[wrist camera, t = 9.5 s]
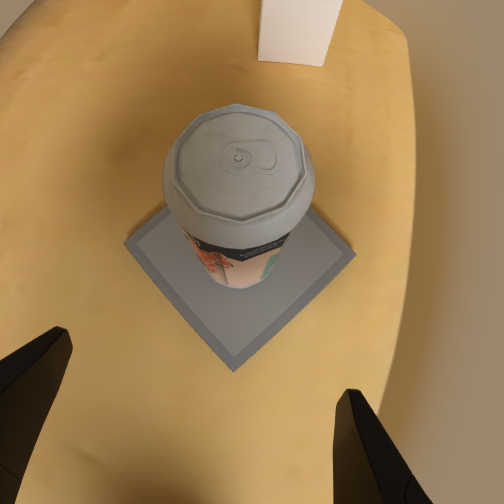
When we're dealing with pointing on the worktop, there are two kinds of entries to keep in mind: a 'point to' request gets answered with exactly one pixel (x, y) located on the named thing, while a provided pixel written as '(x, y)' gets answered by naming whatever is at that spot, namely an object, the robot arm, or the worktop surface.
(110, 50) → the worktop surface
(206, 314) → the trivet
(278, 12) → the milk
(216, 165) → the beer can
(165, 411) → the worktop surface
